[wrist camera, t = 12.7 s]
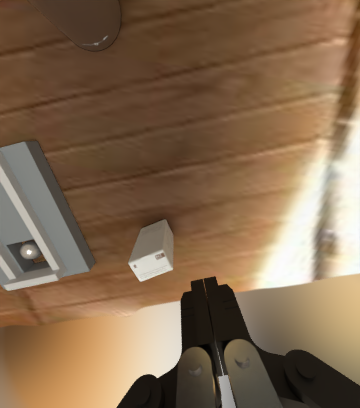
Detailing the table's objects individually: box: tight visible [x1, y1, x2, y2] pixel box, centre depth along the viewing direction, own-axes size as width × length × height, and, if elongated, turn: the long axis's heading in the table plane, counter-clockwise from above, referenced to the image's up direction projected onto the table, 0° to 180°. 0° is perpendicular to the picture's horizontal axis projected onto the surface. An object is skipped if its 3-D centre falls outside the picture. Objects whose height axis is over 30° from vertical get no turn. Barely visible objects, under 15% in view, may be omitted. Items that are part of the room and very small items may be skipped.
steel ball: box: [20, 240, 43, 259], centre depth 39 cm, size 4×4×4 cm
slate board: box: [0, 141, 95, 291], centre depth 36 cm, size 27×20×6 cm
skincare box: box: [128, 219, 173, 282], centre depth 34 cm, size 6×4×12 cm
